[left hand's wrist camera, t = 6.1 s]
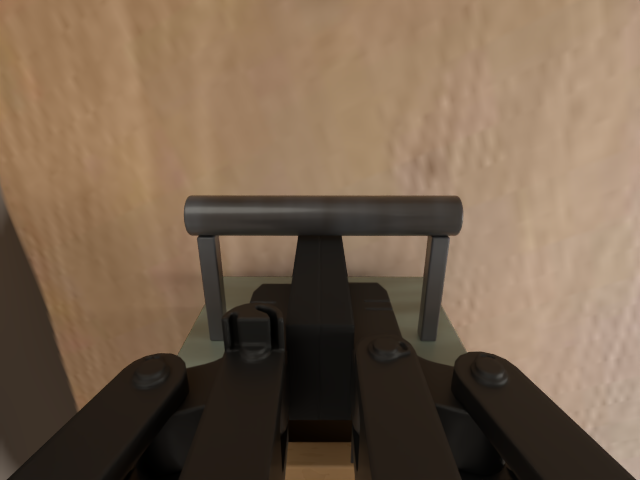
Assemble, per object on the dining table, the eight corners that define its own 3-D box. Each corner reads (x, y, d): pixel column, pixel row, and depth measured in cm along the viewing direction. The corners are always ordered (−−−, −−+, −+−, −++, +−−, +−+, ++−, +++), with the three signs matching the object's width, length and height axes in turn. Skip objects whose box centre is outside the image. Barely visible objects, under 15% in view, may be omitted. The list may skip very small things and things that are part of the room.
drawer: (207, 166, 17) (127, 221, 10) (438, 166, 17) (520, 222, 10) (245, 514, 26) (216, 674, 19) (399, 515, 26) (427, 675, 19)
